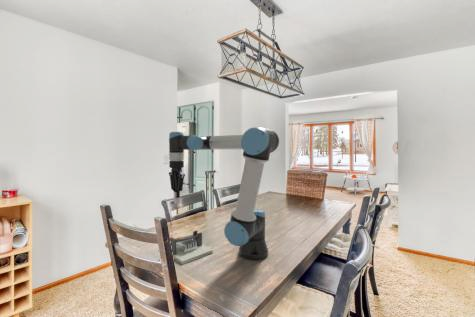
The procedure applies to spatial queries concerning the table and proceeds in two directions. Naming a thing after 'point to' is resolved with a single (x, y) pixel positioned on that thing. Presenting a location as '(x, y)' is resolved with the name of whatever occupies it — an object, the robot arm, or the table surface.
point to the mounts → (198, 240)
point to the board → (192, 254)
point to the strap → (187, 238)
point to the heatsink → (187, 246)
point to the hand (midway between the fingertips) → (176, 203)
